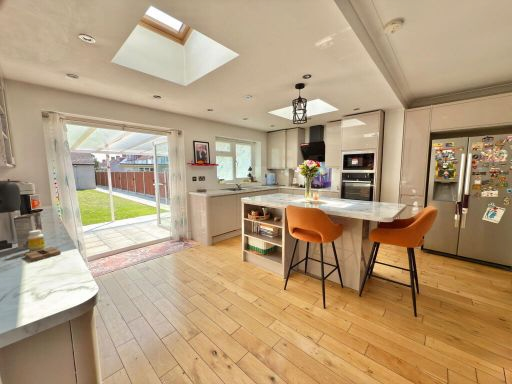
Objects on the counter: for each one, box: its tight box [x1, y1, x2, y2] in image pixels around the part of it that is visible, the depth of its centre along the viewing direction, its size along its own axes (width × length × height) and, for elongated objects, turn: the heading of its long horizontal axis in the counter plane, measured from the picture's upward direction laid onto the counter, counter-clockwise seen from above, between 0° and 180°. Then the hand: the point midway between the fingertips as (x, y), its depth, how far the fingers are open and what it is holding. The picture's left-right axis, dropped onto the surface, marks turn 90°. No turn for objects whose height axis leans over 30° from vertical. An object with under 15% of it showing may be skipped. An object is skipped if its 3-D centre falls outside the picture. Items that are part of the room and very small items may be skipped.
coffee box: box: [14, 213, 44, 250], centre depth 106 cm, size 9×6×16 cm
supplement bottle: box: [28, 230, 46, 252], centre depth 99 cm, size 5×5×10 cm
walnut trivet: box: [24, 246, 62, 262], centre depth 93 cm, size 11×9×2 cm
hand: (9, 243), depth 92 cm, fingers open, 8 cm apart
